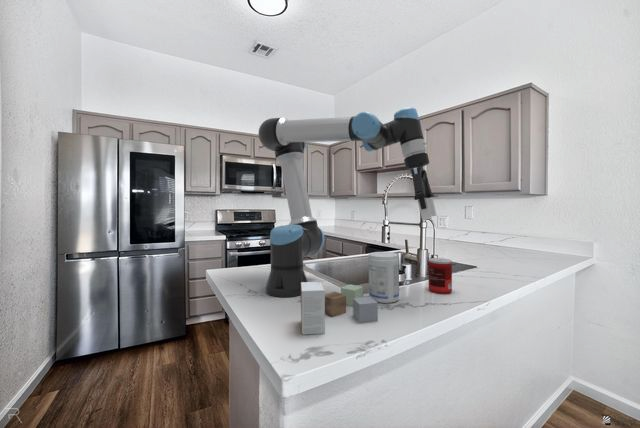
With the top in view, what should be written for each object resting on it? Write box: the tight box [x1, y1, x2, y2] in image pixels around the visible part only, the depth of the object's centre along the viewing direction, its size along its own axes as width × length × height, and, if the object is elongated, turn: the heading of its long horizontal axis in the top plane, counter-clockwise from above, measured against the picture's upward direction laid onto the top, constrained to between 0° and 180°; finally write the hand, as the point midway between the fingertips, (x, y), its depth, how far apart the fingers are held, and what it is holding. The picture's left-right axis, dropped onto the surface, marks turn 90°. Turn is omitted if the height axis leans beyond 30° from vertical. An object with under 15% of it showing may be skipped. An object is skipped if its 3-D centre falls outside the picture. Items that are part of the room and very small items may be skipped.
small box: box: [300, 281, 326, 336], centre depth 70 cm, size 8×6×10 cm
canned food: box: [427, 257, 453, 295], centre depth 99 cm, size 8×8×11 cm
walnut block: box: [325, 291, 347, 318], centre depth 80 cm, size 5×5×5 cm
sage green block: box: [340, 283, 364, 307], centre depth 87 cm, size 5×5×5 cm
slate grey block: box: [352, 296, 379, 324], centre depth 75 cm, size 5×5×5 cm
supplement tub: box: [367, 251, 400, 304], centre depth 91 cm, size 10×10×15 cm
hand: (429, 217), depth 92 cm, fingers open, 13 cm apart
